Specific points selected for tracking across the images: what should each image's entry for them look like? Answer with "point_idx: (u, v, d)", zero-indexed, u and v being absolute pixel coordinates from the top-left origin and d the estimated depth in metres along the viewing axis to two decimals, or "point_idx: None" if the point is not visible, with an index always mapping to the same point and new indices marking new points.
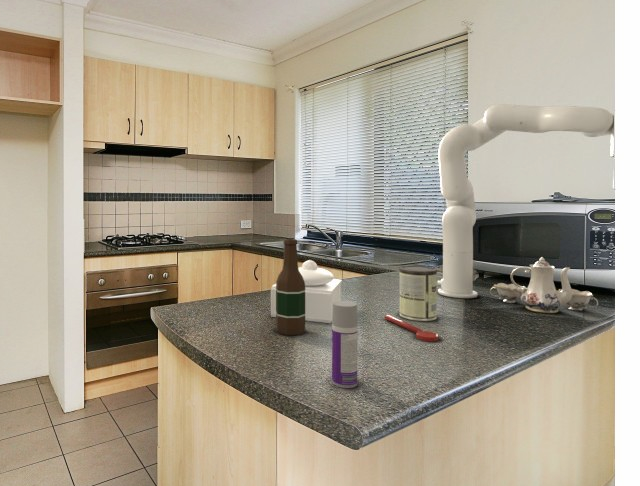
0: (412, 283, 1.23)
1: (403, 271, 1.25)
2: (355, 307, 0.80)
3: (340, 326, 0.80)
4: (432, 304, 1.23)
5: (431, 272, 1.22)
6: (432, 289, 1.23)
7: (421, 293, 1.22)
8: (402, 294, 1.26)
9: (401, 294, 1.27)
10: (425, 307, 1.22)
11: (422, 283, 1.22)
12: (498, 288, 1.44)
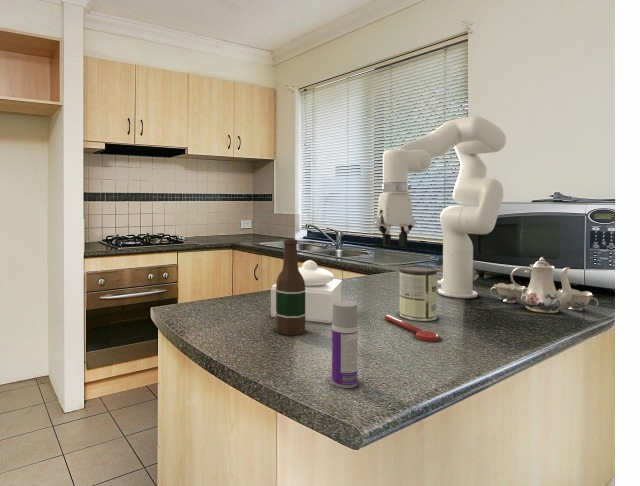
0: (412, 283, 1.23)
1: (403, 271, 1.25)
2: (355, 307, 0.80)
3: (340, 326, 0.80)
4: (432, 304, 1.23)
5: (431, 272, 1.22)
6: (432, 289, 1.23)
7: (421, 293, 1.22)
8: (402, 294, 1.26)
9: (401, 294, 1.27)
10: (425, 307, 1.22)
11: (422, 283, 1.22)
12: (498, 288, 1.44)
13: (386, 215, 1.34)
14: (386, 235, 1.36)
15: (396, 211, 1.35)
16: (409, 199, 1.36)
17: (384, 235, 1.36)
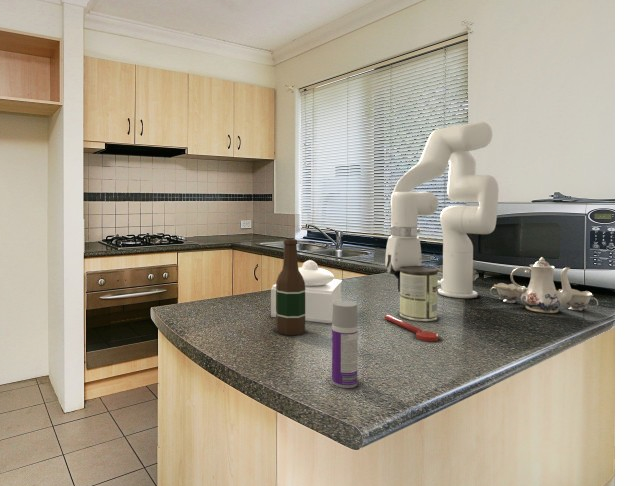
0: (413, 283, 1.23)
1: (404, 271, 1.25)
2: (355, 307, 0.80)
3: (340, 326, 0.80)
4: (433, 305, 1.23)
5: (432, 272, 1.22)
6: (433, 289, 1.22)
7: (422, 293, 1.22)
8: (402, 295, 1.26)
9: (402, 294, 1.26)
10: (426, 307, 1.22)
11: (423, 283, 1.22)
12: (498, 288, 1.44)
13: (395, 261, 1.30)
14: None
15: (405, 256, 1.30)
16: (418, 243, 1.32)
17: (399, 281, 1.33)
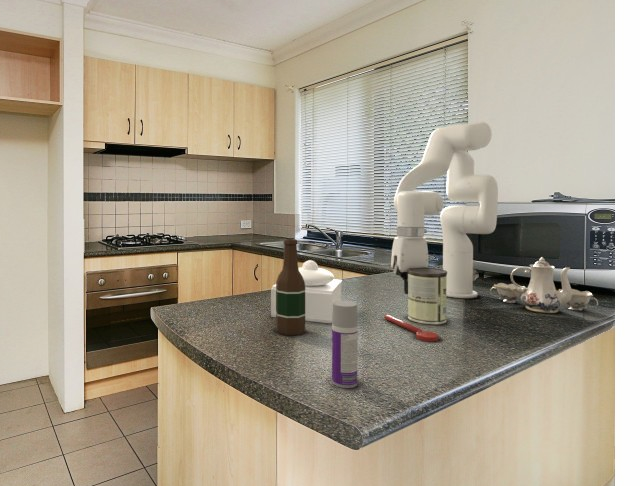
0: (424, 285, 1.19)
1: (414, 273, 1.21)
2: (355, 307, 0.80)
3: (340, 326, 0.80)
4: (444, 307, 1.20)
5: (443, 274, 1.19)
6: (443, 291, 1.20)
7: (434, 296, 1.19)
8: (412, 298, 1.22)
9: (411, 297, 1.23)
10: (437, 310, 1.19)
11: (434, 285, 1.19)
12: (498, 288, 1.44)
13: (401, 262, 1.27)
14: None
15: (411, 257, 1.27)
16: (425, 244, 1.29)
17: (406, 282, 1.29)
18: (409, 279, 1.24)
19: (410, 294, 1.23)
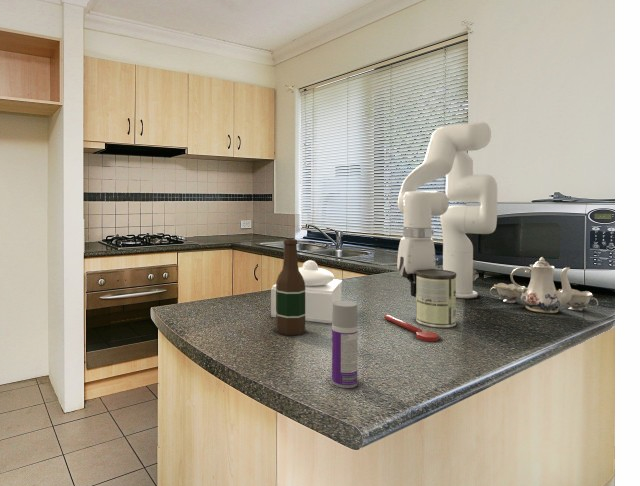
0: (435, 288, 1.16)
1: (424, 276, 1.18)
2: (355, 307, 0.80)
3: (340, 326, 0.80)
4: (454, 309, 1.17)
5: (453, 276, 1.17)
6: (454, 293, 1.17)
7: (445, 298, 1.16)
8: (422, 300, 1.19)
9: (421, 300, 1.19)
10: (448, 312, 1.16)
11: (445, 288, 1.16)
12: (498, 288, 1.44)
13: (408, 263, 1.24)
14: (414, 284, 1.26)
15: (418, 259, 1.24)
16: (432, 245, 1.26)
17: (412, 284, 1.26)
18: (418, 281, 1.21)
19: (419, 297, 1.20)
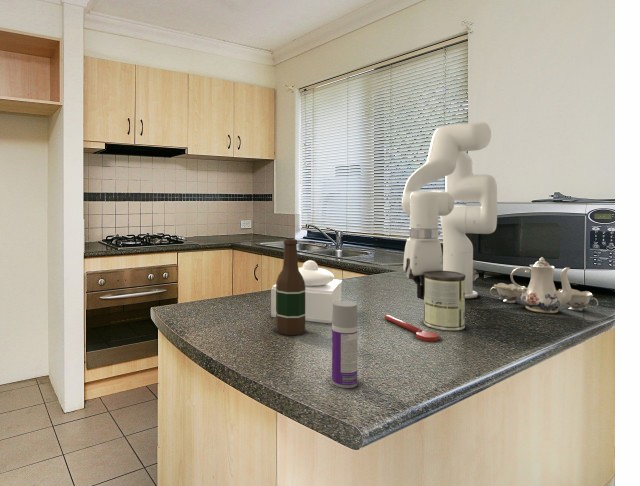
0: (445, 290, 1.14)
1: (434, 278, 1.15)
2: (355, 307, 0.80)
3: (340, 326, 0.80)
4: (463, 312, 1.15)
5: (463, 277, 1.14)
6: (463, 295, 1.15)
7: (455, 300, 1.14)
8: (432, 303, 1.16)
9: (430, 303, 1.16)
10: (459, 315, 1.14)
11: (456, 290, 1.13)
12: (498, 288, 1.44)
13: (414, 265, 1.21)
14: (421, 286, 1.23)
15: (425, 260, 1.22)
16: (439, 246, 1.23)
17: (419, 286, 1.24)
18: (427, 284, 1.18)
19: (429, 299, 1.17)
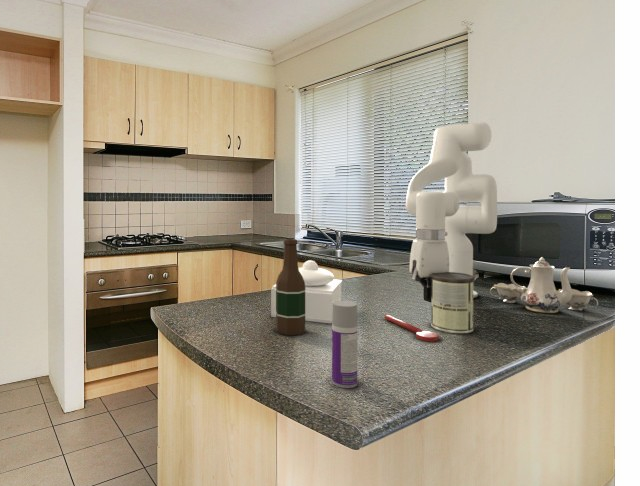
0: (455, 292, 1.11)
1: (443, 279, 1.13)
2: (355, 307, 0.80)
3: (340, 326, 0.80)
4: (472, 314, 1.13)
5: (472, 279, 1.12)
6: (472, 297, 1.13)
7: (465, 303, 1.11)
8: (440, 306, 1.13)
9: (439, 305, 1.14)
10: (468, 317, 1.11)
11: (465, 292, 1.11)
12: (498, 288, 1.44)
13: (421, 267, 1.19)
14: (428, 289, 1.21)
15: (432, 262, 1.19)
16: (446, 248, 1.21)
17: (425, 288, 1.21)
18: (435, 286, 1.15)
19: (437, 302, 1.14)
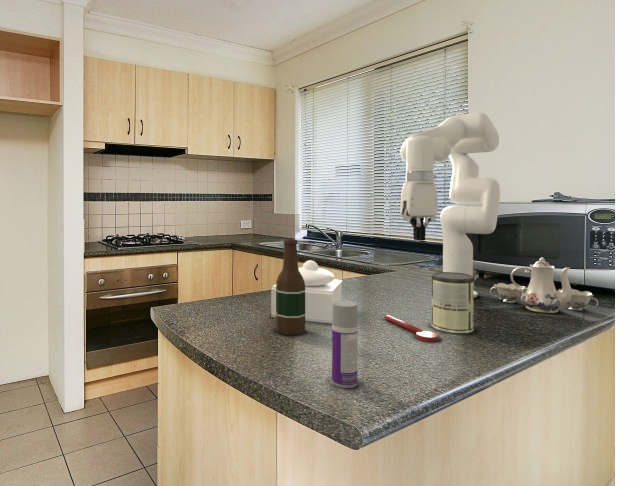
0: (455, 292, 1.11)
1: (443, 279, 1.13)
2: (355, 307, 0.80)
3: (340, 326, 0.80)
4: (473, 314, 1.13)
5: (472, 279, 1.12)
6: (472, 297, 1.13)
7: (465, 303, 1.11)
8: (440, 305, 1.13)
9: (439, 305, 1.14)
10: (468, 317, 1.11)
11: (465, 292, 1.11)
12: (498, 288, 1.44)
13: (410, 206, 1.26)
14: (417, 228, 1.28)
15: (421, 202, 1.26)
16: (435, 189, 1.28)
17: (415, 228, 1.29)
18: (435, 286, 1.15)
19: (437, 302, 1.14)
